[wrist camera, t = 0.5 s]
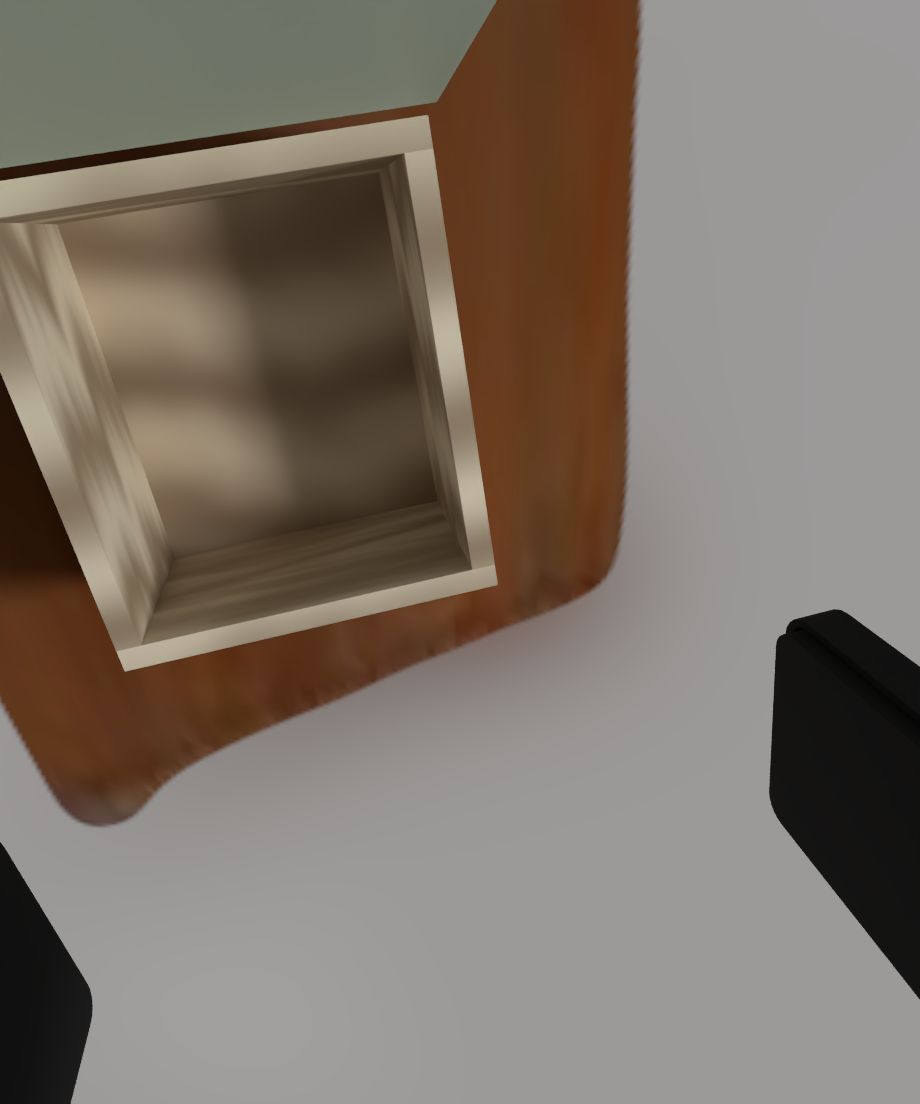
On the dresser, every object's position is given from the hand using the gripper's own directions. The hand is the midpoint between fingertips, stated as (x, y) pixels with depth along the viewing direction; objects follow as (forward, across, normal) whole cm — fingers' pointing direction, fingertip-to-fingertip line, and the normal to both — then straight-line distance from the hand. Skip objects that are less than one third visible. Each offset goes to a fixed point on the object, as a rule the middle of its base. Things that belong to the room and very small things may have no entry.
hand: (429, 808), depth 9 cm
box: (+31, +3, 0) cm, 31 cm away
